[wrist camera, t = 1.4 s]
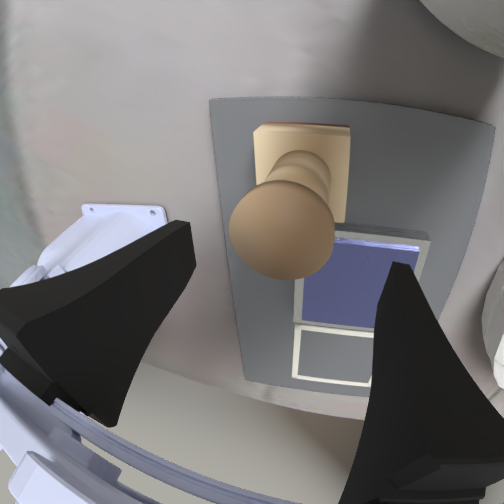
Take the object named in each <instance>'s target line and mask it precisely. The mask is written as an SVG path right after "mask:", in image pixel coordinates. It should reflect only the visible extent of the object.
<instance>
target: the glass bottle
mask: <svg viewBox="0 0 504 504" xmlns="http://www.w3.org/2000/svg"><path fill="white" fill-rule="evenodd" d="M420 1H421V3H422V4H423V5H424V6H425V7H426V8H427V9H428V10H429V11H430V12H431V13H432V14H433V15H434V16H435V17H436V18H437V19H438V20H439V21H441V22H442V23H443V24H444V25H445V26H446V27H448V28H449V29H450V30H451V31H453V32H454V33H456V34H457V35H458V36H460V37H461V38H463V39H464V40H466V41H468V42H469V43H471V44H473V45H475V46H477V47H478V48H480V49H483V50H485V51H487V52H489V53H491V54H494V55H496V56H499V57H502V58H504V0H420Z"/></svg>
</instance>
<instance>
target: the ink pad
mask: <svg viewBox="0 0 504 504" xmlns="http://www.w3.org/2000/svg"><path fill="white" fill-rule="evenodd" d="M430 243H431V240H430V237H429V235H428V232H426V231H418V230H410V229H402V228H394V227H385V226H376V225H367V224H358V223H348V222H344V223H337V222H335V238H334V246H333V251H332V254H331V256H330V258H329V260H328V261H327V263H326V264H325V265H324V266H323V267H322V268H321V269H320V270H319V271H317V272H316V273H314V274H312V275H310V276H308V277H305V278H301V279H296V280H295V290H294V316H293V322H296V323H304V324H311V325H319V326H328V327H336V328H345V329H354V330H364V331H374V326H375V318H376V311H377V304H378V301H379V299H380V296H381V293H382V291H383V288H384V285H385V282H386V279H387V276H388V274H389V271H390V268H391V265H392V262H393V261H395V262H400V263H404V264H409V265H410V266H411V268H412V270H413V272H414V274H415V276H416V278H417V280H418V282H419V279H420V276H421V273H422V270H423V267H424V264H425V260H426V257H427V253H428V250H429V246H430Z"/></svg>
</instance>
